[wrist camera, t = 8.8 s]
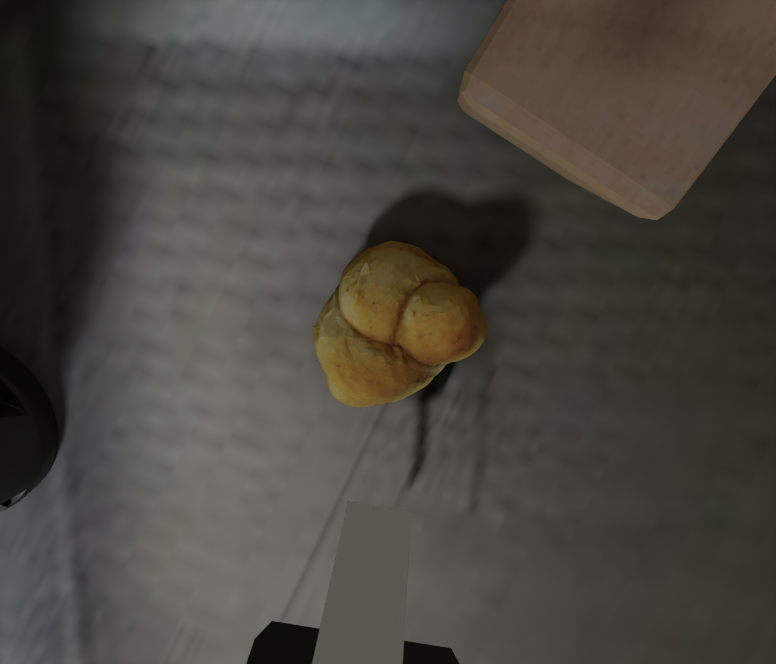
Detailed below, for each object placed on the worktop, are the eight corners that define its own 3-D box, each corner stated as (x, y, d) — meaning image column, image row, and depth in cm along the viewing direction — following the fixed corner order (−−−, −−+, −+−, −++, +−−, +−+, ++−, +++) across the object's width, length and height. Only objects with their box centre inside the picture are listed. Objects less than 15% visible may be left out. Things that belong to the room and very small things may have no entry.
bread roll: (377, 417, 52) (365, 469, 44) (282, 334, 51) (252, 373, 43) (497, 301, 48) (505, 335, 41) (397, 208, 47) (387, 225, 39)
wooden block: (539, -43, 42) (614, -178, 23) (671, 47, 42) (850, -9, 23) (450, 103, 45) (450, 93, 26) (575, 185, 45) (665, 234, 26)
